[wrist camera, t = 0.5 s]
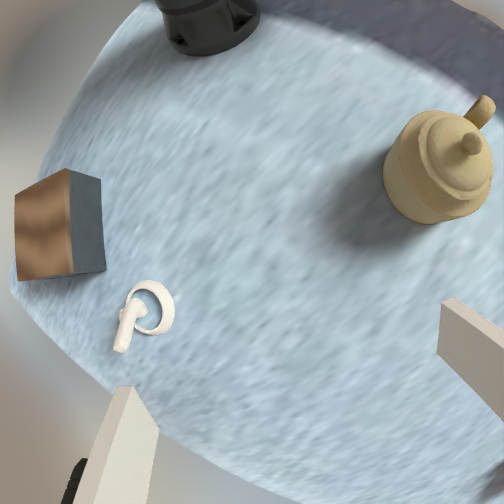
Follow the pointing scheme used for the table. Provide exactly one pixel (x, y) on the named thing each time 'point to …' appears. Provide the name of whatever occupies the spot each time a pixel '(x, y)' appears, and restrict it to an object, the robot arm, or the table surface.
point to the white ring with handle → (142, 314)
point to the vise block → (59, 227)
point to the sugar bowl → (440, 165)
